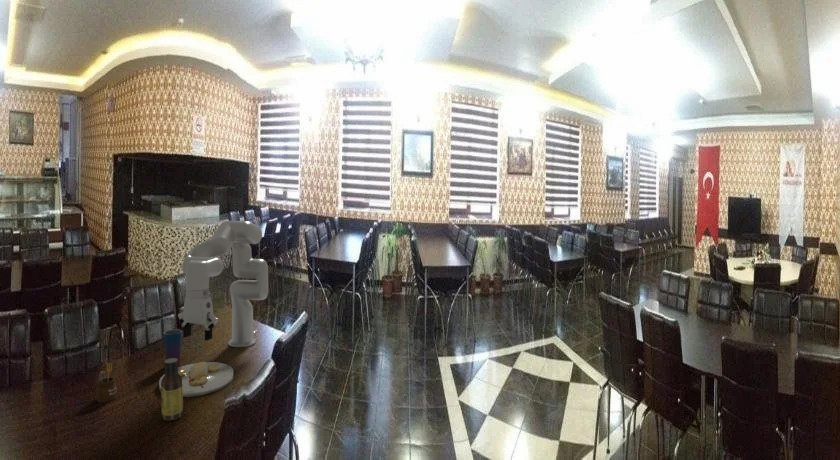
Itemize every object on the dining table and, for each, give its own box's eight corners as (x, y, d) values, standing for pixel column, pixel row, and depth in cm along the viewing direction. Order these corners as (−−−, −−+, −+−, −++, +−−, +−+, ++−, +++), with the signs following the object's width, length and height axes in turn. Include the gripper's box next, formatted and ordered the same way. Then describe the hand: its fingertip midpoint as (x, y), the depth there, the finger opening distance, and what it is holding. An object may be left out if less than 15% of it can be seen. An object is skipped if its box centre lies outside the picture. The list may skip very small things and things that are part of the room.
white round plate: (195, 364, 186) (195, 354, 185) (247, 373, 179) (247, 363, 178) (142, 390, 161) (142, 379, 160) (199, 402, 154) (199, 390, 153)
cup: (160, 366, 181) (159, 332, 180) (175, 361, 187) (175, 328, 186) (170, 370, 178) (169, 335, 177) (185, 365, 184) (185, 331, 183)
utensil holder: (93, 403, 150) (92, 370, 149) (101, 395, 156) (100, 363, 155) (112, 402, 151) (111, 369, 150) (119, 393, 157) (119, 362, 156)
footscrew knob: (197, 377, 167) (197, 360, 167) (211, 380, 166) (211, 362, 165) (182, 385, 160) (182, 367, 160) (196, 388, 159) (196, 370, 158)
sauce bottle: (167, 412, 146) (166, 355, 144) (186, 411, 147) (185, 355, 145) (157, 422, 140) (156, 363, 138) (177, 422, 141) (177, 363, 139)
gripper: (224, 293, 161) (224, 337, 163) (186, 289, 166) (186, 332, 167) (209, 298, 154) (209, 344, 156) (170, 293, 159) (171, 338, 160)
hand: (197, 337), depth 162 cm, fingers open, 9 cm apart
